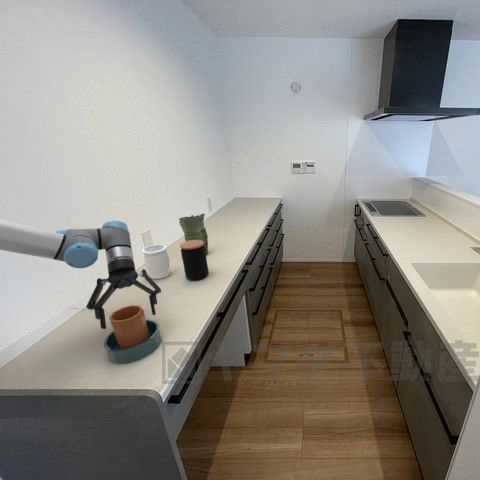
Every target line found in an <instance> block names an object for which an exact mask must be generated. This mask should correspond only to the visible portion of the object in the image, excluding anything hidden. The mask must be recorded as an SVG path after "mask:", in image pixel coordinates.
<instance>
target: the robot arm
mask: <svg viewBox="0 0 480 480" xmlns="http://www.w3.org/2000/svg"><path fill="white" fill-rule="evenodd" d="M131 241H132V240H131V233H130V231H129V227H128V225H127V223H125V221H120V220H111V221H106V222H104V223H103V224H102V226H101V227H100V228H68V229H58V230H57V231H56V232H55V231H52V230H51V231H50V230H46V229H43V228H38V227H34V226H30V225H26V224H22V223H17V222H14V221H9V220H5V219H1V218H0V251H3V252H4V251H5V252H9V253H16V254H21V255H26V256H33V257H39V258H43V259H48V260H49V259H50V260H53V261H58V262H59V261H60V262H63V263H66V264H67V265H68V266H69V267H71V268H74V269H86V268H88V267H91V266H94V264H95V263H96V262H97V261H98V258H99V251H100V250H105V258H106V264H107V274H108V277H107V278H100V277H99V278H97V279H96V285H95V288H94V290H93V291H92V294H91V295H90V298H89V300H88V302H87V304H86V306H85V307H86V309H88V310H90V311H92V310H93V311H94V318H95V319H96V320H99V324H100V329H102V330H106V329H107V322H106V314H105V308H103V307H104V306H105V304H106V302H107V301H108V300H109V299H110V298H111V296H112V295H113V294H114V293H115V292H116V290H117V289H119V290H121V289H125V288H130V287H132V286H133V285H134V286H135V287H137V288H139V289H140V290H141V291H144V292H146V293H147V294H148V298H149V304H150V309H151V313H152V314H151V315H152V316H156V315H157V314H156V309H155V306H156V305H157V304H158V299H157V295H159V294H160V293H162V289H161V287H160V286H159V285H158V284H157V283H156V282H155V281H154V280H153V278H151V276H149V275H148V272H147V270H146V268H145V269H144V268H143V269H141V271H137V270H136V266H135V264H136V263H135V261H134V253H133V248H132V242H131ZM138 277H140V278H144V280H145V281H146V282H147V283H148V284H149V285H150V286H151V287H152V288H153V289H154V290H153V289H152V288H150V287H148V286H146V285H145V284H143V283H141V282H140V281H138V280H137V279H138ZM107 283H109V284H110V285H108V286H107V289H106V290H105V292H104V293H103V294H102V296H100V295H101V293H102V291H103V289H104V287H105V286H106V284H107Z"/></svg>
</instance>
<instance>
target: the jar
mask: <svg viewBox="0 0 480 480" xmlns="http://www.w3.org/2000/svg"><path fill="white" fill-rule="evenodd" d="M167 249H168V248H167V246H166V245H165V244H153V245H148V246H146V247H144V248H143V249H142V250H141V252H142V254H143V259H144V264H145V266H146V268H147V271H148V272H149V274H150V278H151V279H152V280H153V279H154V280H160V279H165V278H166V277H168V276H169V275H170V274H171V273H170V271H169V270H170V257H169V253H168V251H167Z"/></svg>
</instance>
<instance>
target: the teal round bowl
mask: <svg viewBox="0 0 480 480" xmlns="http://www.w3.org/2000/svg"><path fill="white" fill-rule="evenodd" d="M145 319H146V323H147V326H148V330H149V334H150V338H149V339H148V340H146V341H145V342H143V343H141V344H139V345H137V346H134V347H131V348H127V349H119V346H118V343H117V340H116V337H115V334H114V331H113V330H112V331H111V332H109V334H108V335H107V336H106V337H105V338H104V341H103V345H102V346H103V348H104V351H105V353H106V356H107V358H108V361H109V362H111V363H113V364H116V365H124V364H131V363H134V362H137V361H140V360H142V359H144V358H146V357H148V356H150V355H151V354H153V352H155V351H156V350H157V349H158V348H159V347H160V345H161V344H162V342H163V340H162V339H163V335H162V330H161V328H160V324H159V323H158V321H156V320H153V319H150V318H148V319H147V318H145Z"/></svg>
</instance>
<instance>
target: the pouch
mask: <svg viewBox="0 0 480 480" xmlns="http://www.w3.org/2000/svg"><path fill="white" fill-rule="evenodd" d="M205 216H206V213H201V214H199V215H197V214H196V215H195V216H194V215H193V214H191V215H190V216H182V217H179V218H178V221H179V222H178V223H179V226H180V227H181V230H182V231H183V235H184V240H185V241H184V242H186V241H190V240H202V241H203V242H204V247H205V252H206V255H208V254H209V241H208V239H209V236H208V233H207V228H206V227H205V223H204V220H205Z"/></svg>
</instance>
